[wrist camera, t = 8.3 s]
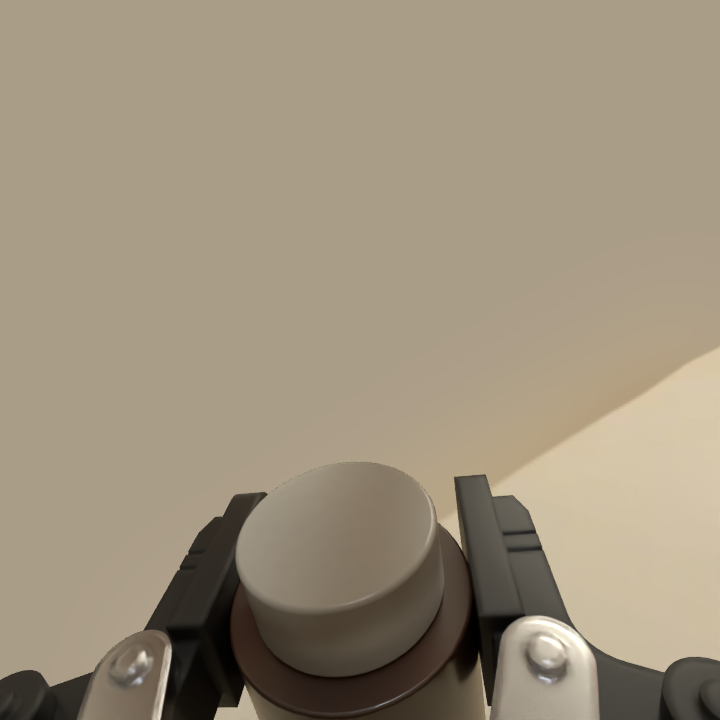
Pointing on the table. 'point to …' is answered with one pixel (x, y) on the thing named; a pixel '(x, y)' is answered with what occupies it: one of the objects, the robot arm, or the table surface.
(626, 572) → the table surface
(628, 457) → the table surface
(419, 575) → the bottle
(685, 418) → the table surface
